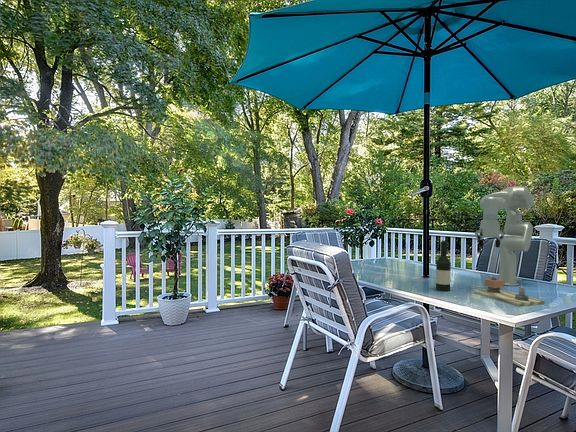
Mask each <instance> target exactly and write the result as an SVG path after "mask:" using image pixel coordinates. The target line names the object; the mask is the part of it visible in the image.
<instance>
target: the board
mask: <svg viewBox="0 0 576 432" xmlns="http://www.w3.org/2000/svg"><path fill="white" fill-rule="evenodd" d="M490 278H491V280H497V279H498V278H497V277H490ZM472 291H473V292H472V293H473V294H476V295H480V296H483V297H486V298H489V299H491V300H492V299H493V300H496V301H499V302H503V303H506V304H509V305H513V306H514V307H525V306H537V304H538V305H545V304H546V300H543V299H539V298H535V297H532V296H529V295H526V293H525V292H526V289H525V287H524V286H520V287H518V293H517V292H512V291H509V290H506V289H505V290H504V289H502V288H491V287H488V286H487V288H483V289H474V290H472ZM544 303H545V304H544Z"/></svg>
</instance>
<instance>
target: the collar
mask: <svg viewBox="0 0 576 432" xmlns="http://www.w3.org/2000/svg"><path fill="white" fill-rule="evenodd" d="M491 278H492V277H489V278H484V280H483V282H484V283H483V286H485V287H487V288H488V287H491V288H500V289H502V288H504V287H505V285H504V280H500V279H499V278H497V280H491Z"/></svg>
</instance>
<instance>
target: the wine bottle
mask: <svg viewBox="0 0 576 432" xmlns="http://www.w3.org/2000/svg"><path fill="white" fill-rule="evenodd" d="M447 245H448V243H447V240H441V241H440V256H439V258H438V259H437V261H436V263H435V266H436V268H435V270H436V271H435V291H437V292H445V293H447V292H451V271H452V269H451V268H452V267H451V266H452V264H451V263H452V262H451V261H450V259H449V258H448V256H447V251H448V249H447V248H448V247H447Z"/></svg>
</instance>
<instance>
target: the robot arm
mask: <svg viewBox="0 0 576 432" xmlns="http://www.w3.org/2000/svg"><path fill="white" fill-rule="evenodd" d="M534 204H535V199H534V196H533V195H532V193H531V191H530V190H529V189H528V188H527V187H526V186H520V185H519V186H507V187H505V188H504V189H502V190H500V191H497V192H494V193H489V194H486V195H484V196H483V197H482V198H480V201H479V207H480V208H481V210H483V212H482V217H483V218H482V220H480V225H479V230H477V231H475V232H474V235H475V237H476V239H477V240H478V247H480V248H483V247H484V240H483V239H484V238H494V239H495V246H494V247H495V248H498V250H499V264H498V265H499V269H498V270H499V271H498V277H499V278H498V279H500V280H504V286H507V285H508V286H510V287H516V286H517V285H518V286H519V285H520V284H519V282H521V281H522V277H518V276H517V256H516V254H515V253H514V252H522V253H523V252H528V251H529V249H530V248H531V243H532V238H533V233H534V229H533V227H534V226H533V224H532V223H531V222H530V221H522V218H523V217H522V214H521V213H520V211H518V209H530V208H532V207H533V206H534ZM502 210H505V213H506V219H505V224H504V228H503V231H501V230H500V229H501V228H500V221H499V220H498V219H500V216H499V215H498V214H499V212H498V211H502ZM518 286H517V287H518Z"/></svg>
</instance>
